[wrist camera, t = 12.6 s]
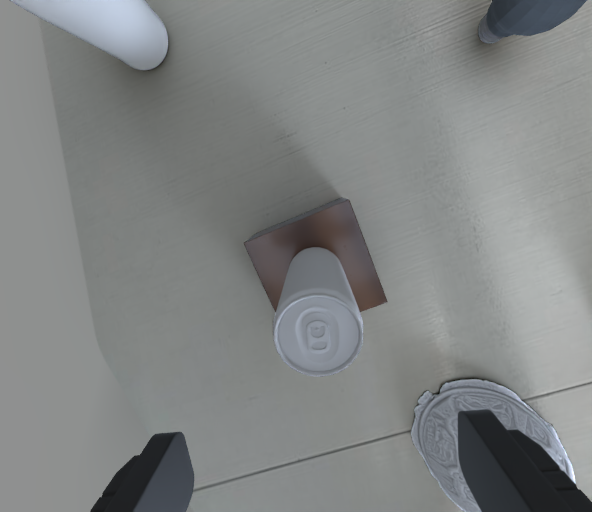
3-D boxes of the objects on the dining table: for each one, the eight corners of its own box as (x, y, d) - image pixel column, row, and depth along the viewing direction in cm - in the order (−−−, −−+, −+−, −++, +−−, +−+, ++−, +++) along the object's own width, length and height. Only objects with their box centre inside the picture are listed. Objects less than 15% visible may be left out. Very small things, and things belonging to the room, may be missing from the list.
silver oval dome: (493, 551, 39) (533, 618, 32) (380, 414, 37) (398, 456, 30) (593, 485, 38) (656, 542, 31) (482, 340, 36) (524, 367, 29)
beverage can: (339, 242, 26) (362, 287, 14) (344, 294, 27) (369, 375, 15) (285, 248, 26) (264, 296, 14) (292, 299, 27) (277, 382, 16)
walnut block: (291, 312, 34) (287, 338, 28) (255, 233, 32) (243, 243, 26) (374, 282, 33) (387, 302, 27) (342, 197, 31) (349, 199, 25)
